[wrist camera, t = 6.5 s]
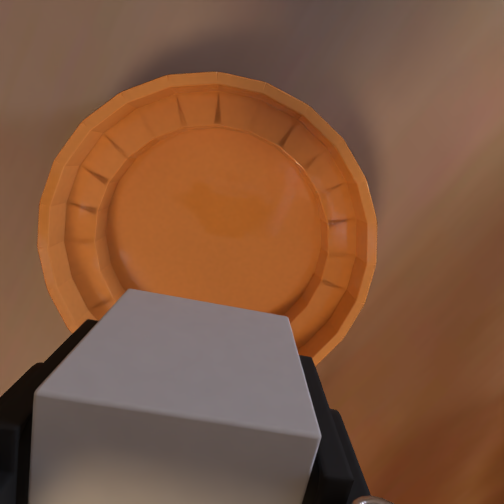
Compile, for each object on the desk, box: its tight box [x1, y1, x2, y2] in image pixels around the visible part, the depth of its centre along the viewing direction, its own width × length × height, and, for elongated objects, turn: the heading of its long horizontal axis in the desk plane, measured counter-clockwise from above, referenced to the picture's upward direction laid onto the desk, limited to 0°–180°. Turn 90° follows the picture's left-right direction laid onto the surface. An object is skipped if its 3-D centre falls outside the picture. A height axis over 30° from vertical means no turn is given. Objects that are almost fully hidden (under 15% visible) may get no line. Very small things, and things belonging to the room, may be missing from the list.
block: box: [28, 289, 321, 504], centre depth 8 cm, size 4×4×4 cm
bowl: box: [37, 71, 377, 366], centre depth 22 cm, size 19×19×4 cm
